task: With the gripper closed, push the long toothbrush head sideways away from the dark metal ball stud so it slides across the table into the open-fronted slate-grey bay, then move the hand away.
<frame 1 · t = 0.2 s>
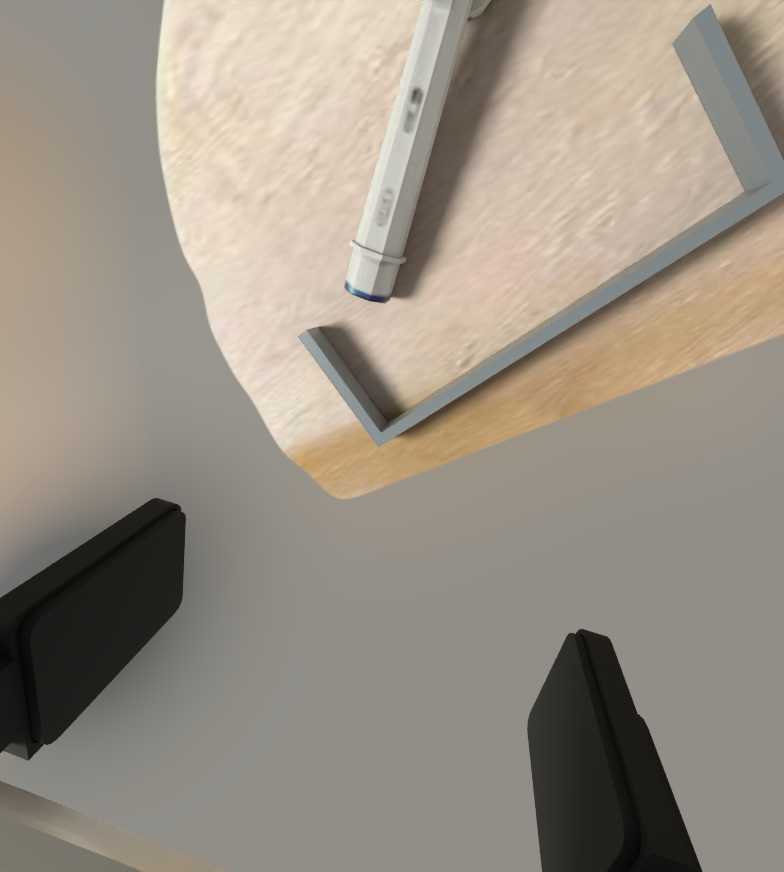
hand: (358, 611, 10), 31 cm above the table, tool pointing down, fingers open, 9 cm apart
bay: (507, 273, 35), on the table
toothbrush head: (421, 135, 34), on the table
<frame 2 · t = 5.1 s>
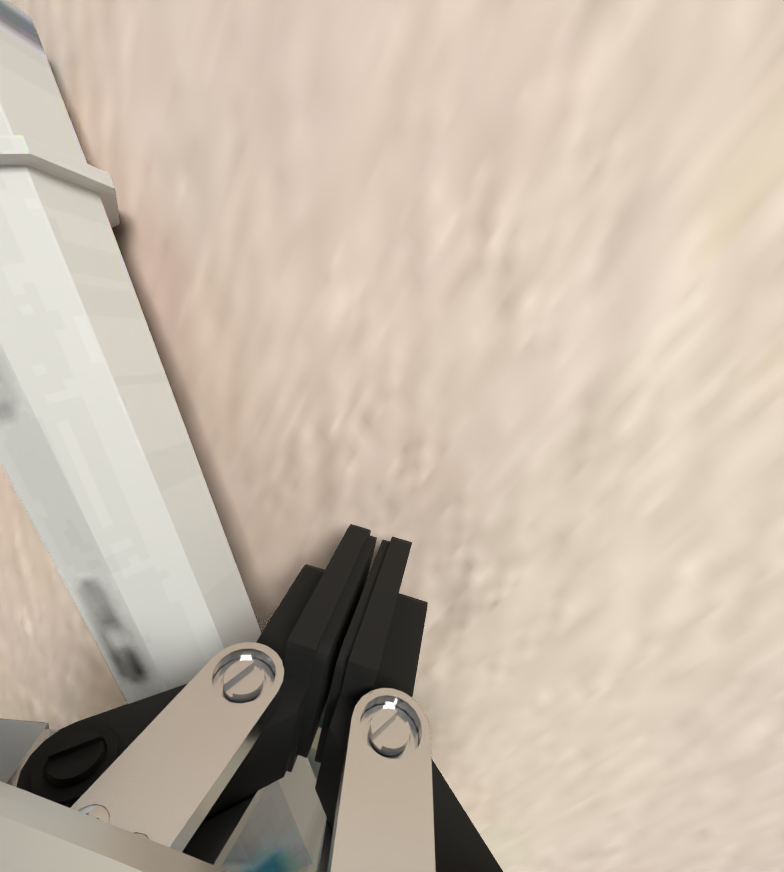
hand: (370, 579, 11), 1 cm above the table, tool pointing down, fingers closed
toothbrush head: (239, 513, 14), on the table, touching gripper
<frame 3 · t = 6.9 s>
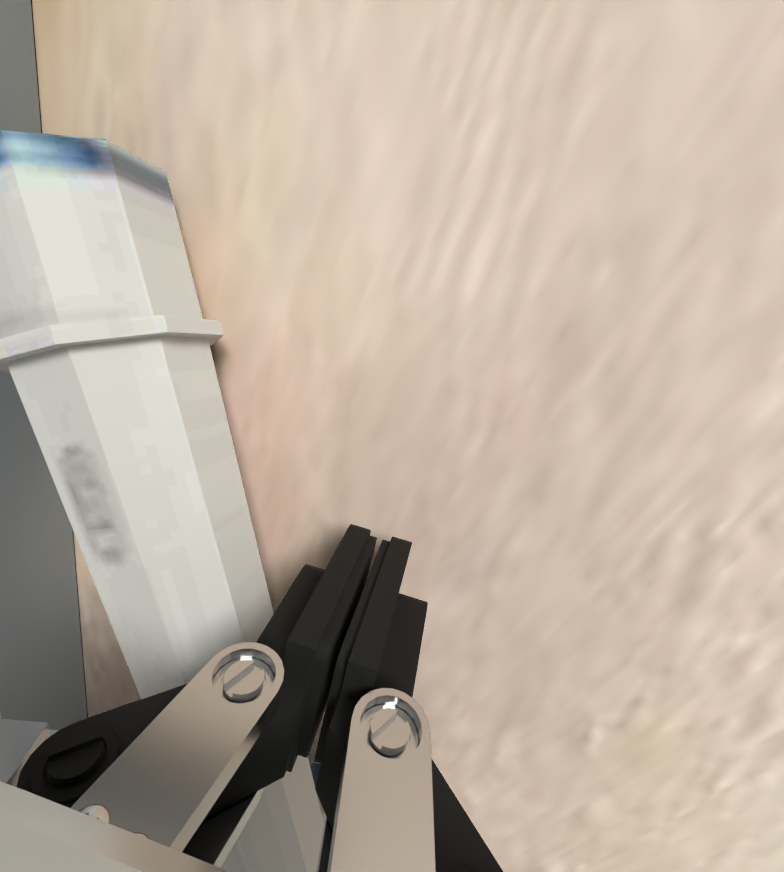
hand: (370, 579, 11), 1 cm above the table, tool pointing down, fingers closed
bay: (210, 500, 13), on the table
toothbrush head: (279, 599, 15), on the table
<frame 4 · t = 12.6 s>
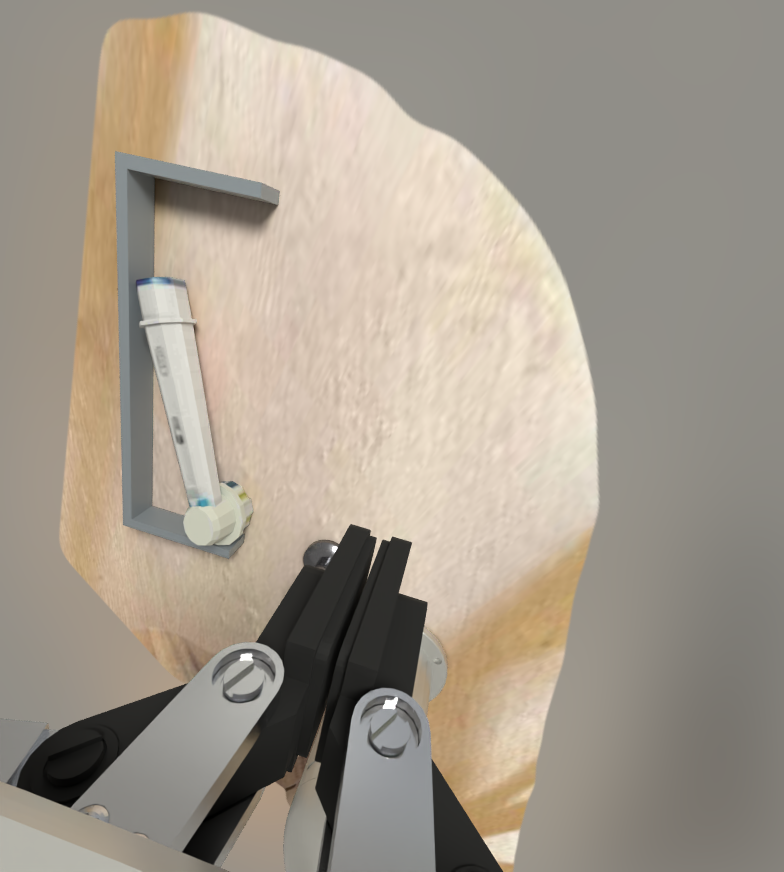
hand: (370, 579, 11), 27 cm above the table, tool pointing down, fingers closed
bay: (200, 377, 41), on the table
ball stud: (328, 560, 45), on the table
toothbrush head: (211, 414, 43), on the table
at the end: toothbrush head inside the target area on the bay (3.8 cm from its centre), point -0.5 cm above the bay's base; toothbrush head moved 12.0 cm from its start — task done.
